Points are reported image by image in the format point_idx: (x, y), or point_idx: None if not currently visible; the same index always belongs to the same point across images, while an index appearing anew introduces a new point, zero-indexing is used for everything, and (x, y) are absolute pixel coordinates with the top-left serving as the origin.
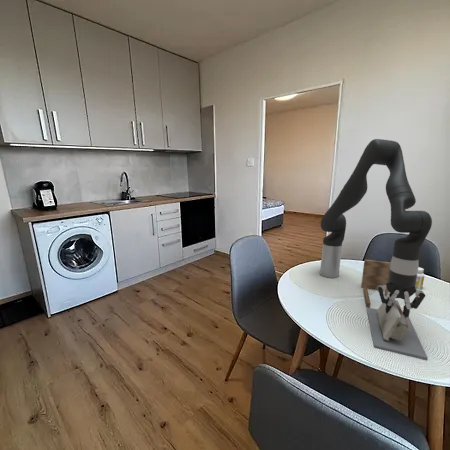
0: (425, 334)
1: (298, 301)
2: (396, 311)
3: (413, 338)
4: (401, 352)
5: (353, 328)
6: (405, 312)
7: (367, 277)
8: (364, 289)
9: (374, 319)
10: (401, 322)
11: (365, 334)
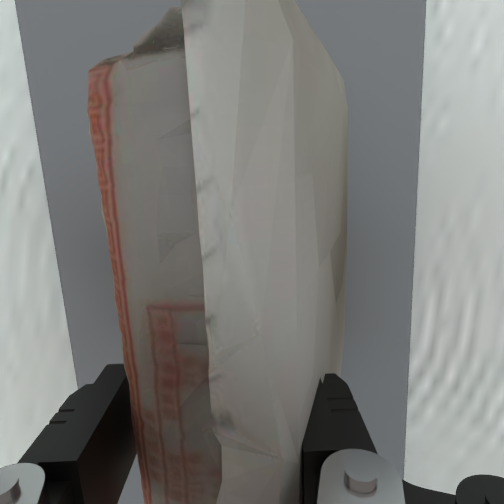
0: (13, 362)
1: None
2: (255, 239)
3: (95, 243)
4: None
5: None
6: (94, 412)
7: None
8: None
9: (365, 393)
10: (182, 72)
11: (458, 156)
